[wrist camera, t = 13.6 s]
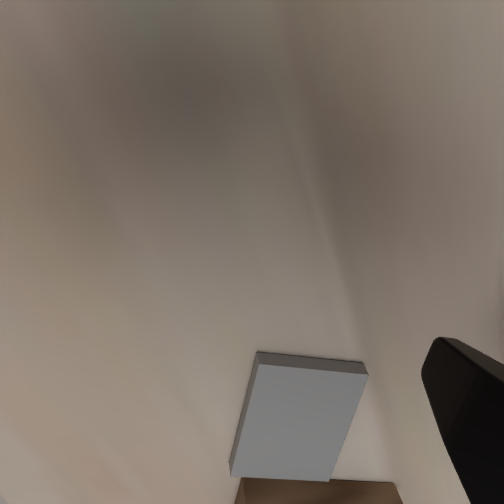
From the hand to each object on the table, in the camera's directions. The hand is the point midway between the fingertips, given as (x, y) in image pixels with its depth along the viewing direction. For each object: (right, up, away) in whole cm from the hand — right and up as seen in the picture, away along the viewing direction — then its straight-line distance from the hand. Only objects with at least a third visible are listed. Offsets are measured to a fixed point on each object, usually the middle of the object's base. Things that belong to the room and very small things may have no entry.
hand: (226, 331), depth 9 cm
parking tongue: (+3, -8, +17) cm, 19 cm away
